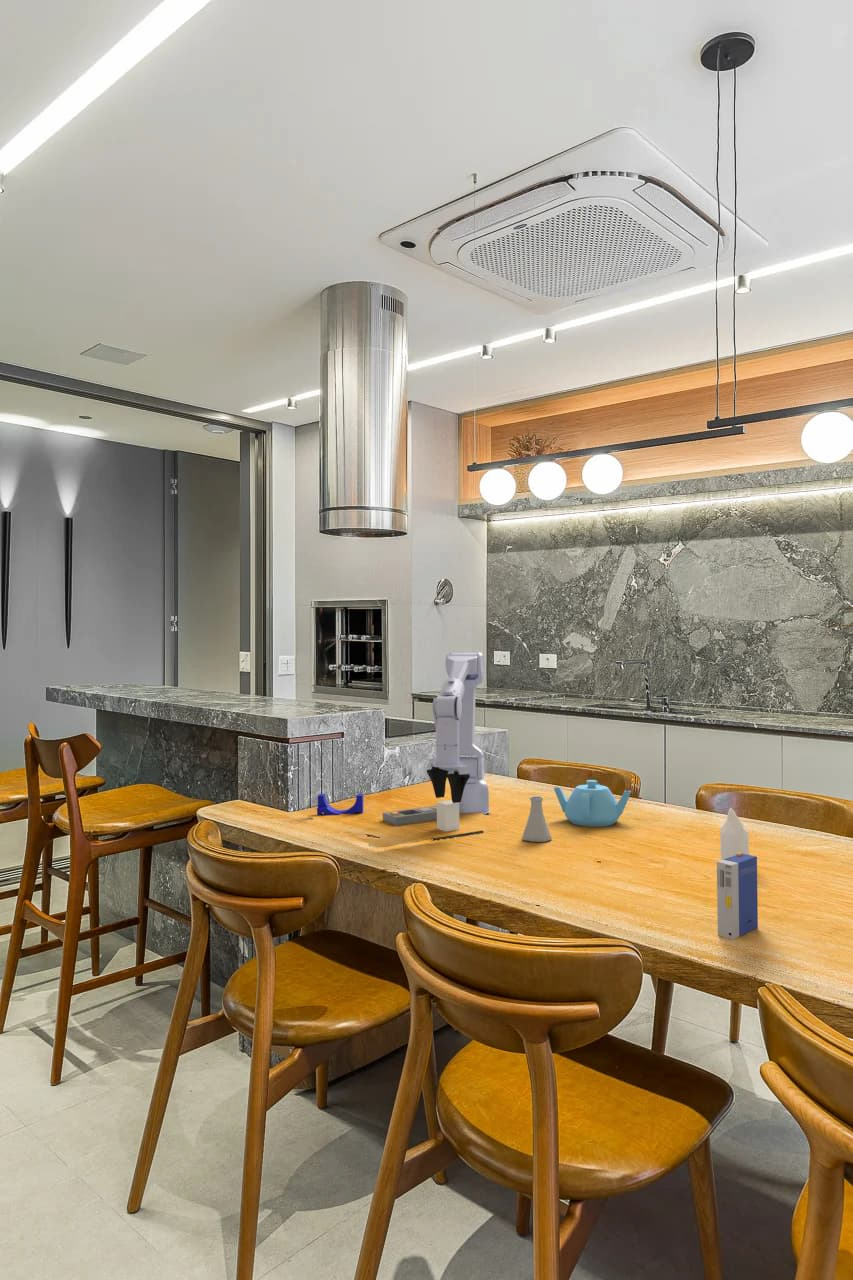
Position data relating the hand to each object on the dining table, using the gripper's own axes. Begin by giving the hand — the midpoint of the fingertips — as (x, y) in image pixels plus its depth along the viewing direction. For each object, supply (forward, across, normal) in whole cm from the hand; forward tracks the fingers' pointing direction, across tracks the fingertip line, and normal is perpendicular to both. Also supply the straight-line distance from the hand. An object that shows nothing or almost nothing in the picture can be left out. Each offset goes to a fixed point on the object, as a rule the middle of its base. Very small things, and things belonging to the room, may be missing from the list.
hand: (448, 799), depth 201 cm
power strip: (+8, -14, 0) cm, 16 cm away
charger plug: (+8, 0, 0) cm, 8 cm away
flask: (+8, +17, +14) cm, 24 cm away
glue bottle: (+8, +58, +33) cm, 67 cm away
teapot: (+8, +10, +38) cm, 40 cm away
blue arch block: (+9, -32, -14) cm, 36 cm away
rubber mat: (+8, 0, 0) cm, 8 cm away
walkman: (+8, +83, +2) cm, 84 cm away
